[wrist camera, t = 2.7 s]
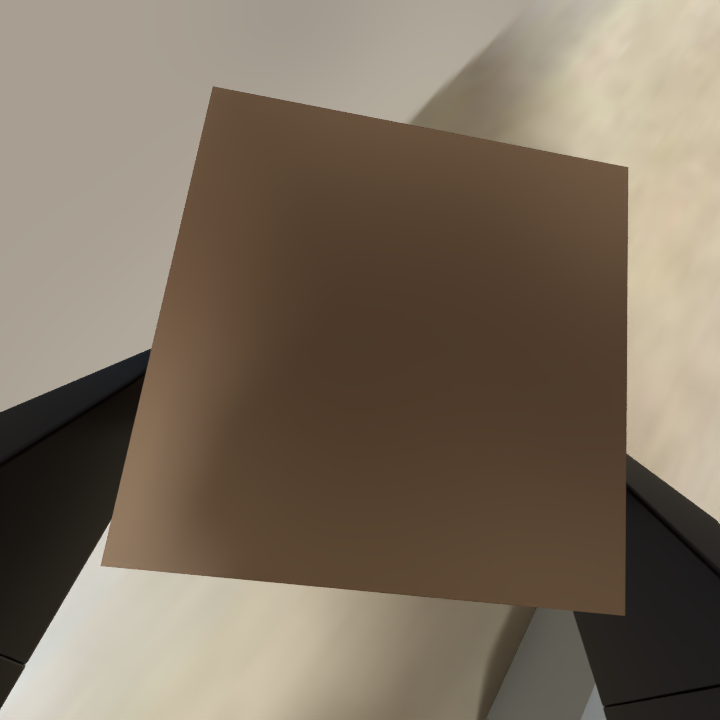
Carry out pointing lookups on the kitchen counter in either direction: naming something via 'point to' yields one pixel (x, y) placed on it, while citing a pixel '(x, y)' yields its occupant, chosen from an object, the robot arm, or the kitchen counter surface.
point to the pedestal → (549, 674)
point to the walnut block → (386, 366)
